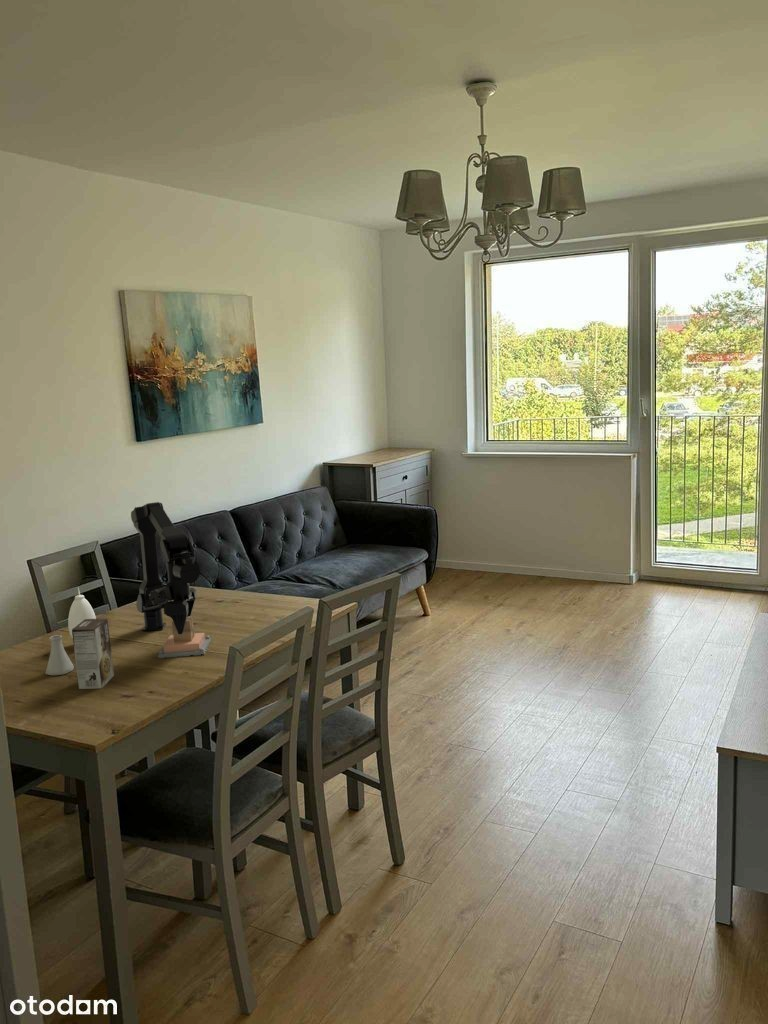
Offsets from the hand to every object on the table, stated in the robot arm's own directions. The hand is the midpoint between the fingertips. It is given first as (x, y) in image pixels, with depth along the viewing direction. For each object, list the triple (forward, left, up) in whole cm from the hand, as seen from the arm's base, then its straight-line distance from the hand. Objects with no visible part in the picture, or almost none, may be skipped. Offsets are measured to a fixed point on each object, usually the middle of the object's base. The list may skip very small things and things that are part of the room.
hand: (183, 629), depth 237 cm
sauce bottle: (-11, -32, -6) cm, 34 cm away
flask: (+12, -32, -6) cm, 35 cm away
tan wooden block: (0, 0, -3) cm, 3 cm away
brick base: (0, 0, -6) cm, 6 cm away
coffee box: (+23, -19, -6) cm, 30 cm away
